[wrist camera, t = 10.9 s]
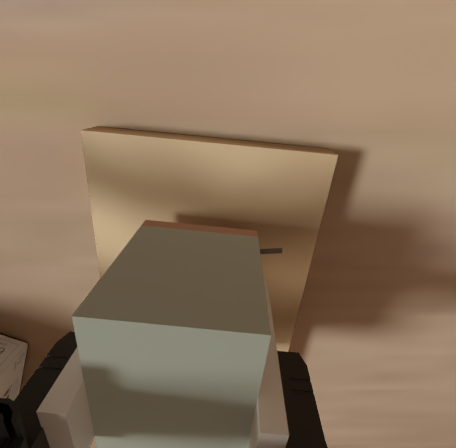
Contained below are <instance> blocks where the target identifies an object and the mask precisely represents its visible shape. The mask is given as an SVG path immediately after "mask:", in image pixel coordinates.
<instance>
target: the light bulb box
mask: <svg viewBox="0 0 456 448" xmlns="http://www.w3.org/2000/svg"><path fill="white" fill-rule="evenodd" d="M27 347H28V344H27V343H25V342H22V341H19V340H16V339H13V338H10V337H7V336H4V335H1V334H0V398H9V399H11V400H13V401H14V400H15V399H16V397H17V396H18V395H19V391H20V386H21V380H22V375H23V369H24V364H25V358H26V353H27Z"/></svg>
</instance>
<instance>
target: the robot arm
mask: <svg viewBox="0 0 456 448" xmlns="http://www.w3.org/2000/svg"><path fill="white" fill-rule="evenodd" d="M264 286H265V293H266V301H267V308H268V316H269V323H270V331H271V338H270V343H269V348H268V353H267V357H266V362H265V367H264V372H263V377H262V381H261V386H260V391H259V396H258V398H257V403H256V408H255V413H254V418H253V422H252V427H251V432H250V437H249V442H248V446H247V448H328V447H327V445H326V442H325V438H324V434H323V430H322V426H321V422H320V418H319V413H318V409H317V405H316V401H315V397H314V395H313V389H312V385H311V382H310V376H309V372H308V368H307V365H306V363H305V362H304V360H303V359H302V357H301V356H300V354H299V353H295V352H285V351H277V346H276V339H275V332H274V325H273V318H272V311H271V304H270V297H269V290H268V283H267V280H264ZM93 438H94V430H93V425H92V420H91V414H90V409H89V404H88V398H87V393H86V388H85V382H84V379H83V374H82V368H81V363H80V358H79V353H78V347H77V342H76V337H75V332H69V333H68V334H67V335H65V336H64V337H63V338H62V339H60V340H59V341H58V342H57V343H56V344H55V345H54V347H53V348H52V349H51V351H50V352H49V353H48V355H47V358H45V359H44V360H43V362H42V363H41V364H40V366H39V369H37V370H36V371H35V373H34V374H33V375H32V377H31V378H30V380H29V381H28V382H27V384H26V385H25V386H24V388H23V389H22V390H21V392H20V393H19V395H18V396H17V397H16V399H15V400H14V401H13V400H11V399H9V398H0V448H90V445H91V443H92V441H93Z"/></svg>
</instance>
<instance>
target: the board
mask: <svg viewBox="0 0 456 448" xmlns="http://www.w3.org/2000/svg"><path fill="white" fill-rule="evenodd" d="M81 137H82V144H83V152H84V159H85V167H86V174H87V182H88V189H89V197H90V204H91V212H92V219H93V227H94V234H95V242H96V249H97V257H98V264H99V272H100V279H101V277H102V276H103V275H104V273H105V272H106V271H107V269H108V268H109V267H110V265H111V264H112V263H113V262H114V260H115V259H116V258H117V256H118V255H119V254H120V252H121V251H122V250H123V248H124V247H125V246H126V245H127V243H128V242H129V241H130V239H131V238H132V237H133V235H134V234H135V233H136V231H137V230H138V229H139V228H140V226H141V225H142V224H143V222H144V221H145V220H153V221H164V222H174V223H184V224H194V225H205V226H215V227H225V228H235V229H246V230H256V231H257V233H258V240H259V248H260V256H261V263H262V271H263V278H264V280H267V283H268V290H269V297H270V304H271V311H272V318H273V325H274V332H275V339H276V346H277V351H285V352H288V351H289V347H290V343H291V339H292V335H293V331H294V327H295V323H296V319H297V315H298V311H299V307H300V304H301V300H302V296H303V292H304V288H305V284H306V280H307V276H308V272H309V268H310V264H311V260H312V256H313V253H314V249H315V245H316V241H317V237H318V233H319V229H320V225H321V221H322V217H323V213H324V209H325V205H326V202H327V198H328V194H329V190H330V186H331V182H332V178H333V174H334V170H335V166H336V162H337V158H338V155H337V154H336V153H334V152H333V151H331V150H330V149H326V148H316V147H306V146H295V145H285V144H275V143H264V142H254V141H244V140H233V139H223V138H212V137H202V136H192V135H181V134H171V133H161V132H150V131H140V130H129V129H119V128H109V127H98V126H96V127H92V128H88V129H84V130H81Z"/></svg>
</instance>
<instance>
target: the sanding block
mask: <svg viewBox="0 0 456 448" xmlns="http://www.w3.org/2000/svg"><path fill="white" fill-rule="evenodd" d="M72 321H73V326H74V331H75V337H76V342H77V347H78V353H79V358H80V363H81V368H82V374H83V379H84V382H85V388H86V393H87V398H88V404H89V409H90V414H91V420H92V425H93V430H94V437H95V443H96V448H247V446H248V442H249V437H250V432H251V427H252V422H253V418H254V413H255V408H256V403H257V398H258V396H259V391H260V386H261V381H262V377H263V372H264V367H265V362H266V357H267V353H268V348H269V343H270V338H271V331H270V323H269V316H268V308H267V301H266V293H265V286H264V278H263V271H262V263H261V256H260V248H259V240H258V233H257V231H256V230H246V229H235V228H225V227H215V226H205V225H194V224H184V223H174V222H164V221H153V220H145V221H144V222H143V224H142V225H141V226H140V228H139V229H138V230H137V231H136V233H135V234H134V235H133V237H132V238H131V239H130V241H129V242H128V243H127V245H126V246H125V247H124V248H123V250H122V251H121V252H120V254H119V255H118V256H117V258H116V259H115V260H114V262H113V263H112V264H111V265H110V267H109V268H108V269H107V271H106V272H105V273H104V275H103V276H102V277H101V279H100V280H99V281H98V282H97V284H96V285H95V286H94V288H93V289H92V290H91V292H90V293H89V294H88V296H87V297H86V298H85V299H84V301H83V302H82V303H81V305H80V306H79V307H78V309H77V310H76V311H75V313H74V314H73V315H72Z"/></svg>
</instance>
